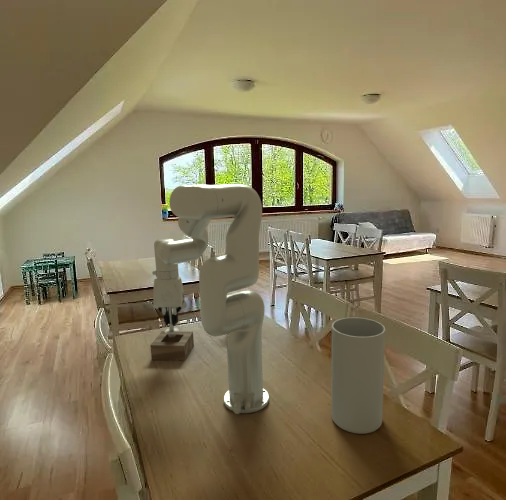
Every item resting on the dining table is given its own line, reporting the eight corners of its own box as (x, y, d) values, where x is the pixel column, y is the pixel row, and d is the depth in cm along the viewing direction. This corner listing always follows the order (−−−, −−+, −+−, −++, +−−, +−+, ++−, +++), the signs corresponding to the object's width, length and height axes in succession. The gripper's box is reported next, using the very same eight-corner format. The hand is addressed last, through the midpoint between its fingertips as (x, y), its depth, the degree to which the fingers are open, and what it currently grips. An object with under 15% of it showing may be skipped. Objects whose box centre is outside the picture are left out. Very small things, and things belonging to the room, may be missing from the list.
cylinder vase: (344, 399, 107) (345, 314, 102) (389, 416, 99) (393, 324, 94) (322, 422, 97) (322, 329, 93) (370, 442, 89) (372, 341, 85)
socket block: (185, 360, 133) (184, 345, 132) (151, 359, 134) (150, 345, 133) (193, 345, 145) (193, 331, 144) (162, 345, 146) (161, 331, 145)
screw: (169, 340, 135) (163, 336, 139) (181, 336, 138) (175, 332, 142) (166, 304, 132) (160, 301, 136) (179, 301, 135) (172, 298, 139)
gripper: (141, 277, 131) (146, 328, 135) (187, 276, 129) (190, 328, 133) (149, 271, 138) (153, 320, 142) (192, 271, 137) (195, 320, 140)
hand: (171, 323), depth 137 cm, fingers closed on screw, 2 cm apart
